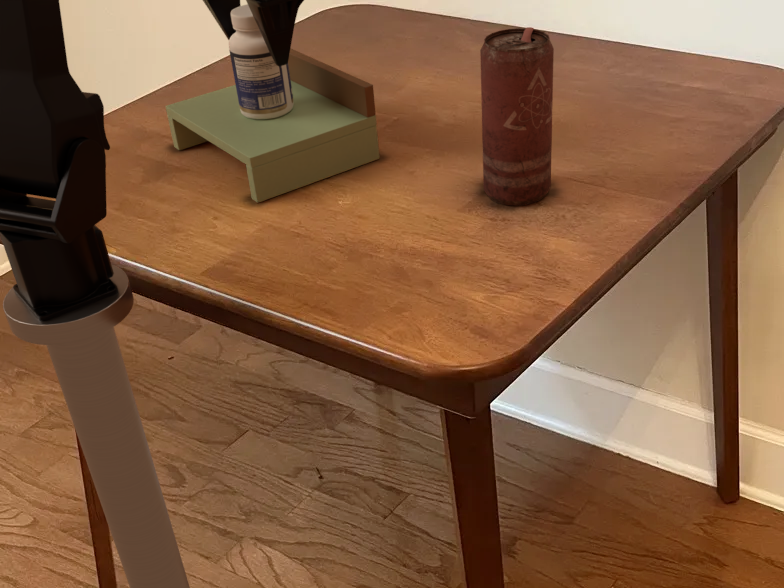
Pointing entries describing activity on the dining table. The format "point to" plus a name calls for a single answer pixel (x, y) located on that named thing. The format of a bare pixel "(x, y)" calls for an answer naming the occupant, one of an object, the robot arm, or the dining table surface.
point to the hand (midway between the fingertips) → (258, 54)
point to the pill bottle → (257, 71)
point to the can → (517, 115)
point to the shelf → (287, 128)
